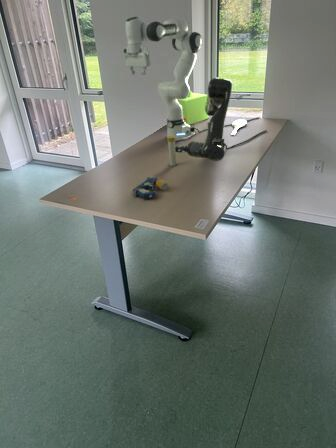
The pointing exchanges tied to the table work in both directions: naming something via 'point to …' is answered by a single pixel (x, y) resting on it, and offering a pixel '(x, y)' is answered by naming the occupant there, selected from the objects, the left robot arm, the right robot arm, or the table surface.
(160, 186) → the spray gun
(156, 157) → the table surface
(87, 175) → the table surface
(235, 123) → the spoon
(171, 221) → the table surface
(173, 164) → the pale cream cylinder
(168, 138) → the lid
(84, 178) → the table surface
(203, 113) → the lime green box
